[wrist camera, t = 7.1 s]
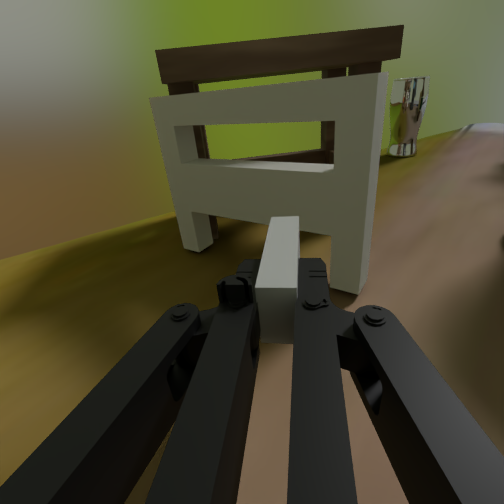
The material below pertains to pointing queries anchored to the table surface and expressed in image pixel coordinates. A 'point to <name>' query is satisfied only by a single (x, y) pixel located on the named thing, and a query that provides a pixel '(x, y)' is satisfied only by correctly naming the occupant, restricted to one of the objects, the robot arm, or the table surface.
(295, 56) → the stool
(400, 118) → the beer glass
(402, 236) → the table surface
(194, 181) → the gate leg
